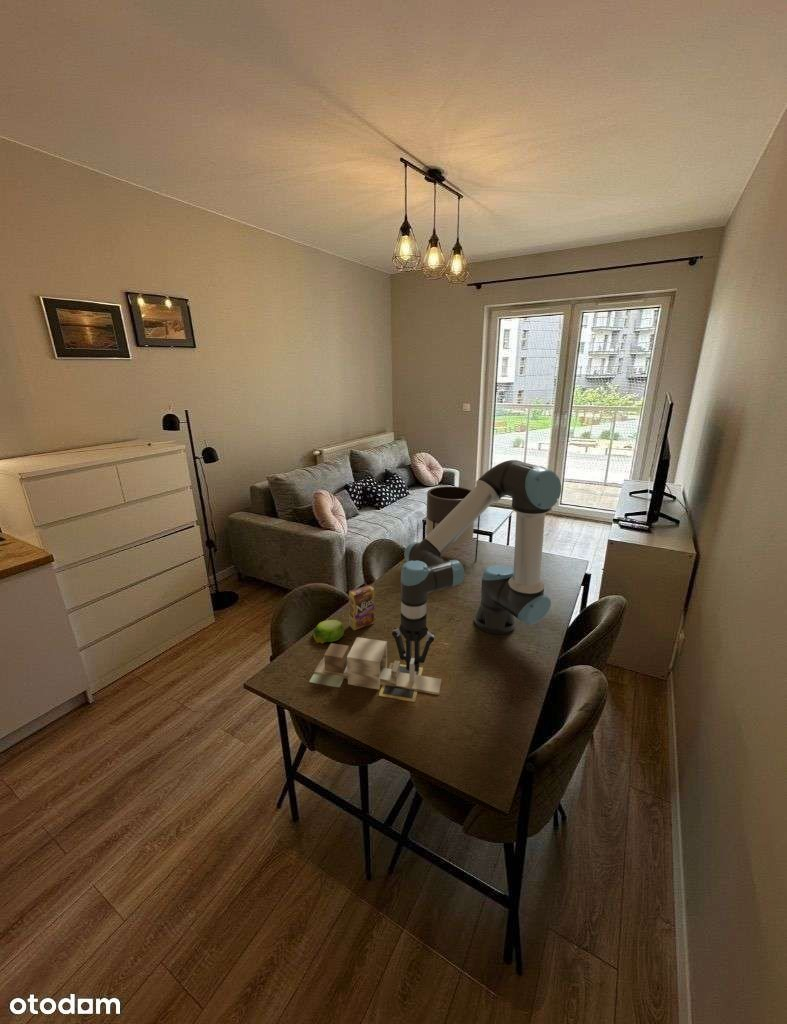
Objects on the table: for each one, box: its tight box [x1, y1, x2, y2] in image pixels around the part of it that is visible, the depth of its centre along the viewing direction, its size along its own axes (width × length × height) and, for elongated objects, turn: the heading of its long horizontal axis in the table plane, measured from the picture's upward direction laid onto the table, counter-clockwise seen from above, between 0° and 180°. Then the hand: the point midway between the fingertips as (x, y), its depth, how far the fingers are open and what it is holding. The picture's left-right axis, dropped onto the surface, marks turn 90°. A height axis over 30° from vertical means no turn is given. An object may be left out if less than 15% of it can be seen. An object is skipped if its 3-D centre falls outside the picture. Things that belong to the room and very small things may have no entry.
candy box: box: [348, 584, 375, 631], centre depth 156 cm, size 9×4×15 cm, turn 123°
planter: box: [425, 485, 481, 562], centre depth 206 cm, size 26×25×35 cm
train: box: [323, 642, 401, 684], centre depth 131 cm, size 24×6×7 cm, turn 77°
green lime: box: [312, 619, 345, 644], centre depth 152 cm, size 12×11×5 cm
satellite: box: [308, 637, 442, 703], centre depth 130 cm, size 40×15×10 cm, turn 77°
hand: (412, 678), depth 129 cm, fingers closed
